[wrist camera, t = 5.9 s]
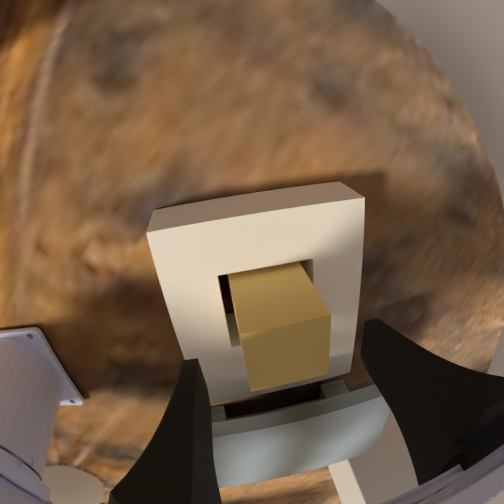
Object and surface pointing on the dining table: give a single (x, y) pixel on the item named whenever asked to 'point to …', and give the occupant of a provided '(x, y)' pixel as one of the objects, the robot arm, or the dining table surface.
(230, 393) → the socket
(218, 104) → the dining table surface
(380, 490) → the milk carton
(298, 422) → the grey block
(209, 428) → the robot arm
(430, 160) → the dining table surface
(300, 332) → the peg
